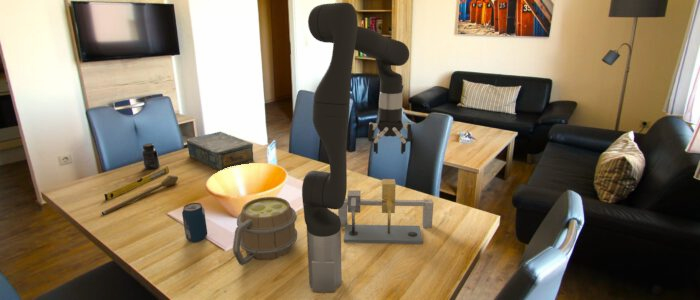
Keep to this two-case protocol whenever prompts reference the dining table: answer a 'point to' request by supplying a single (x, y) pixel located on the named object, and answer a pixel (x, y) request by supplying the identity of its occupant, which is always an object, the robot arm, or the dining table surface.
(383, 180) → the slide head
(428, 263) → the dining table surface
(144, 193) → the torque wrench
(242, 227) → the mug
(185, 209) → the soda can
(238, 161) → the metal box
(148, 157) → the supplement bottle
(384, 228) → the flange plate
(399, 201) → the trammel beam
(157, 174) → the spirit level
